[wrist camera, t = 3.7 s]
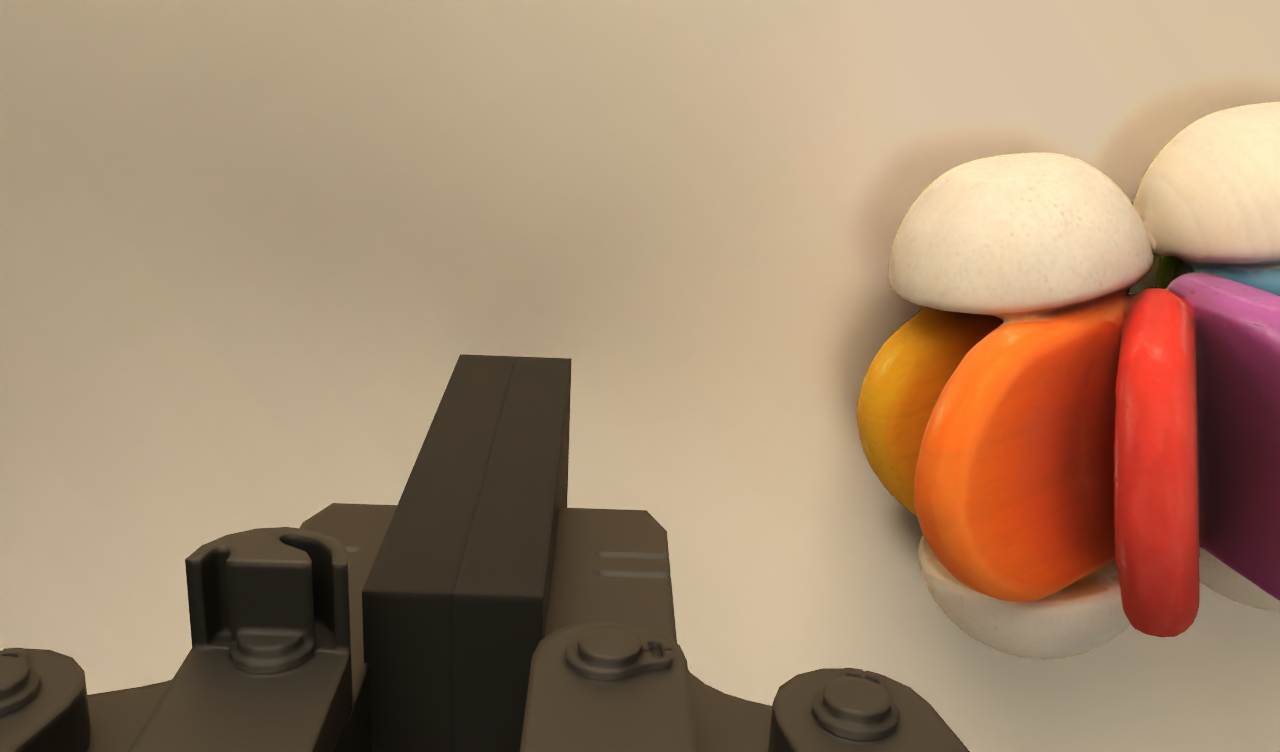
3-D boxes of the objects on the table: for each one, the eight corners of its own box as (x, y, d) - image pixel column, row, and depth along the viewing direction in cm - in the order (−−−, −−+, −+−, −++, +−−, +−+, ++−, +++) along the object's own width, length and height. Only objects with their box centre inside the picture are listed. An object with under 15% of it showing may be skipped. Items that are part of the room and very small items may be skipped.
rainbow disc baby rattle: (807, 176, 21) (906, 278, 14) (1368, 65, 20) (1759, 112, 13) (870, 601, 23) (980, 863, 16) (1367, 510, 23) (1691, 739, 16)
